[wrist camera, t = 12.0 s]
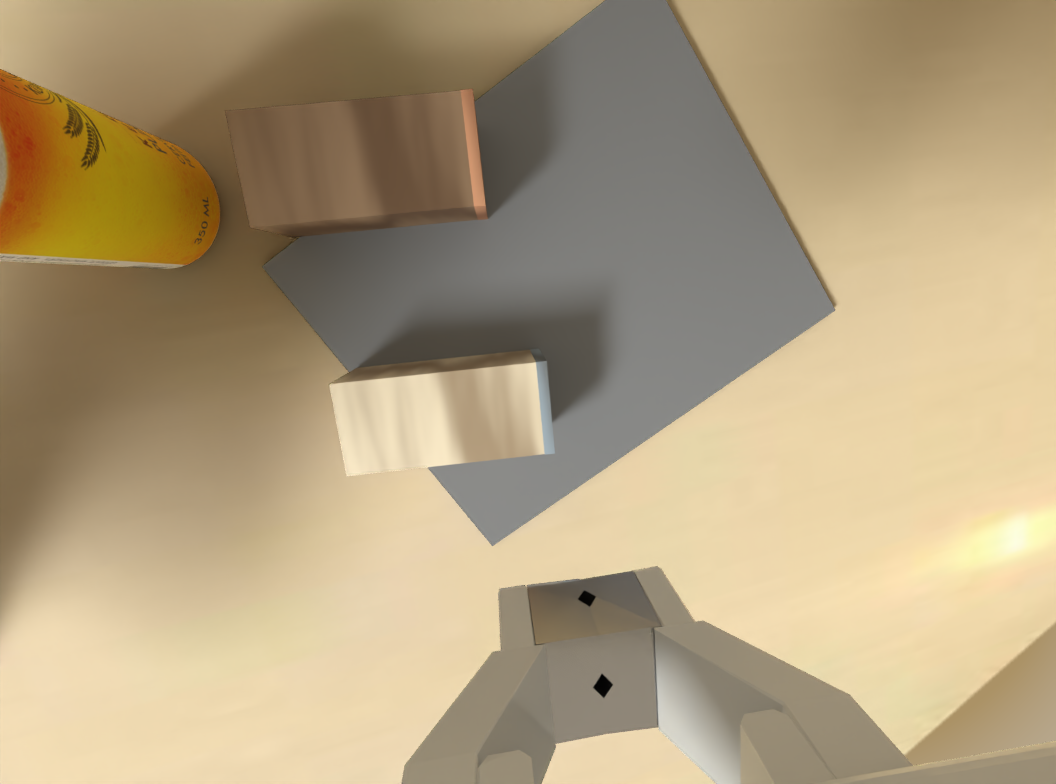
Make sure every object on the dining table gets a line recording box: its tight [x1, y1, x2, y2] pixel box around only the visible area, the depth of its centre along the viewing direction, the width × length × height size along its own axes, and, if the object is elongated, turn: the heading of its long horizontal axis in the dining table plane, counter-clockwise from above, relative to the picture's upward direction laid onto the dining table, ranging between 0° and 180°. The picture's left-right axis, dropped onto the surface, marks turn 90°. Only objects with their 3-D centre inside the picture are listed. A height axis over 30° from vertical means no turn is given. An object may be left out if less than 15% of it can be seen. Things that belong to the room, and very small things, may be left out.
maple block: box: [329, 348, 555, 476], centre depth 25 cm, size 4×4×10 cm
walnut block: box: [225, 89, 488, 237], centre depth 23 cm, size 4×4×10 cm
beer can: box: [0, 69, 220, 269], centre depth 18 cm, size 6×6×15 cm
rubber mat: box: [262, 0, 835, 546], centre depth 27 cm, size 24×20×1 cm
